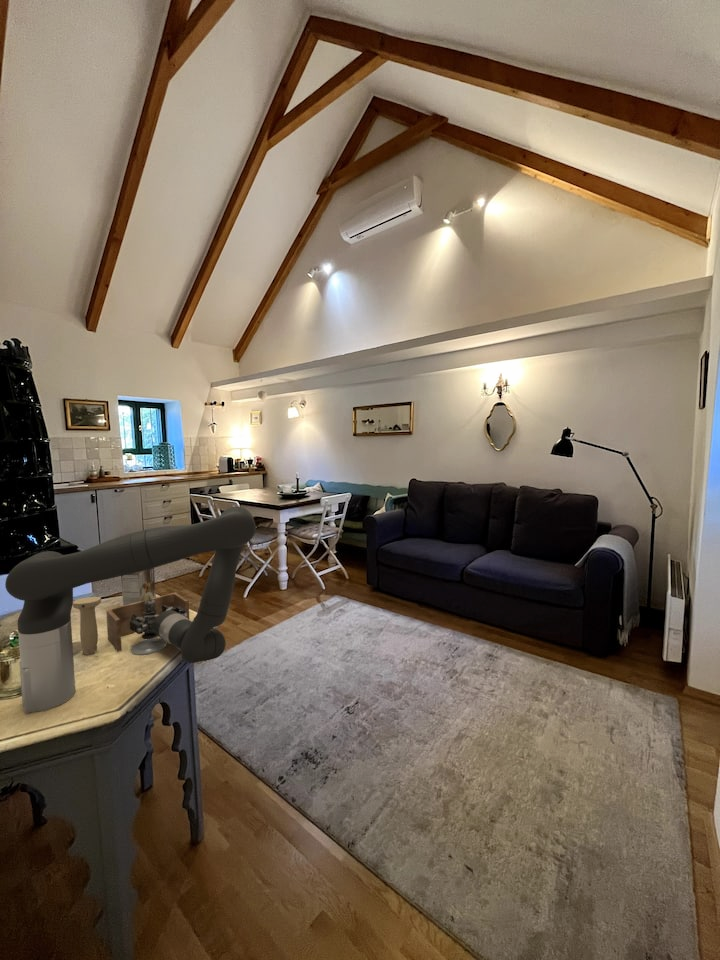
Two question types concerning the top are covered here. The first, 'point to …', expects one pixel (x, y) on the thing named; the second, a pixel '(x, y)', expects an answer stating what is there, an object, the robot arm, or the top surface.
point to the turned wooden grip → (88, 623)
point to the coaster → (148, 646)
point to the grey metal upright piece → (148, 611)
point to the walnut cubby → (122, 615)
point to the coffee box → (138, 586)
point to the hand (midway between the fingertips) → (148, 612)
